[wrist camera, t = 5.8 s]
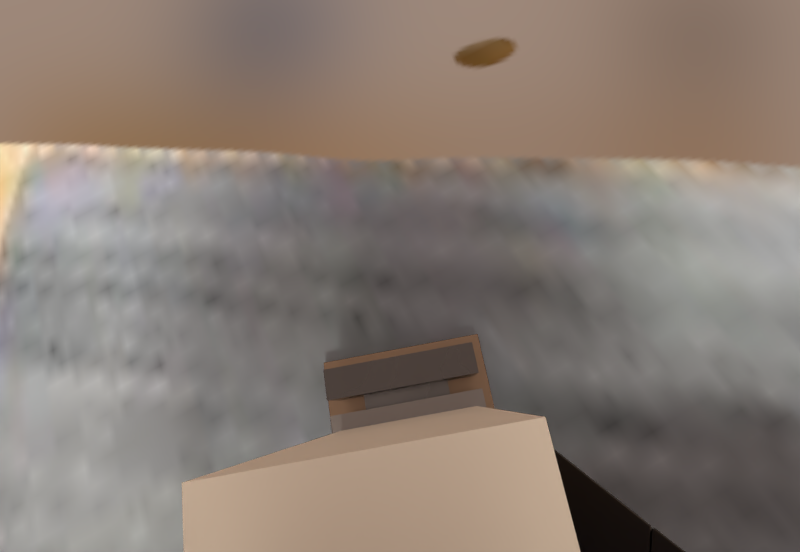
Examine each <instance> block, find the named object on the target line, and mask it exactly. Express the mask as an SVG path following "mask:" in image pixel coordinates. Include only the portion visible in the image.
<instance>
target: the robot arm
mask: <svg viewBox="0 0 800 552" xmlns="http://www.w3.org/2000/svg"><path fill="white" fill-rule="evenodd" d="M554 452H555V456H556V460H557V463H558V467H559V471H560V475H561V479H562V483H563V486H564V490H565V494H566V498H567V502H568V506H569V509H570V513H571V517H572V521H573V525H574V529H575V532H576V536H577V540H578V544H579V548H580V552H685V551H684V550H682V549H681V548H680V547H678V546H677V545H676V544H674V543H673V542H672V541H671V540H669V539H668V538H667V537H666V536H664V535H663V534H662V533H660V532H659V531H658V530H657V529H655V528H653V529H652V527H651V525H649V524H648V523H647V522H646V521H644V520H643V519H642V518H641V517H639V516H638V515H637V514H635V513H634V512H633V511H632V510H630V509H629V508H628V507H627V506H625V505H624V504H623V503H622V502H620V501H619V500H618V499H616V498H615V497H614V496H613V495H611V494H610V493H609V492H608V491H606V490H605V489H604V488H603V487H601V486H600V485H599V484H597V483H596V482H595V481H594V480H592V479H591V478H590V477H589V476H587V475H586V474H585V473H584V472H582V471H581V470H580V469H579V468H577V467H576V466H575V465H573V464H572V463H571V462H570V461H568V460H567V459H566V458H565V457H563V456H562V455H561V454H560V453H558V452H557V451H556V450H554Z"/></svg>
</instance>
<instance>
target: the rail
mask: <svg viewBox="0 0 800 552" xmlns="http://www.w3.org/2000/svg"><path fill="white" fill-rule="evenodd" d="M324 378H325V386H326V394H327V401H328V402H329V411H330V416H334V415H340V414H345V413H350V412H356V411H361V410H367V409H372V408H378V407H383V406H388V405H394V404H399V403H405V402H410V401H416V400H421V399H426V398H432V397H437V396H443V395H448V394H454V393H459V392H464V391H470V390H475V389H481V388H482V390H483V394H484V398H485V403H486V407H487V408H492V409H495V408H494V404H493V400H492V395H491V391H490V387H489V382H488V378H487V373H486V369H485V365H484V360H483V356H482V352H481V347H480V343H479V339H478V334H475V335H469V336H464V337H459V338H453V339H448V340H443V341H437V342H432V343H427V344H422V345H416V346H411V347H406V348H400V349H395V350H390V351H384V352H379V353H374V354H368V355H363V356H358V357H352V358H347V359H342V360H336V361H331V362H326V363H324Z"/></svg>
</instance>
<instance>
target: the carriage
mask: <svg viewBox="0 0 800 552" xmlns="http://www.w3.org/2000/svg"><path fill="white" fill-rule="evenodd" d="M330 419H331V428H332V434H330V435H327V436H324V437H320V438H317V439H314V440H311V441H308V442H305V443H302V444H299V445H296V446H293V447H290V448H287V449H284V450H281V451H278V452H275V453H272V454H269V455H266V456H262V457H259V458H256V459H253V460H250V461H247V462H244V463H241V464H238V465H235V466H232V467H229V468H226V469H223V470H220V471H217V472H214V473H211V474H208V475H204V476H201V477H198V478H195V479H192V480H189V481H186V482H183V483H182V506H183V545H184V552H580V548H579V544H578V540H577V536H576V532H575V529H574V525H573V521H572V517H571V513H570V509H569V506H568V502H567V498H566V494H565V490H564V486H563V483H562V479H561V475H560V471H559V467H558V463H557V460H556V456H555V452H554V448H553V444H552V440H551V437H550V433H549V429H548V425H547V421H546V417H543V416H536V415H530V414H524V413H518V412H511V411H505V410H499V409H492V408H487V407H486V403H485V398H484V394H483V390H482V388H481V389H475V390H470V391H464V392H459V393H454V394H448V395H443V396H437V397H432V398H426V399H421V400H416V401H410V402H405V403H399V404H394V405H388V406H383V407H378V408H372V409H367V410H361V411H356V412H350V413H345V414H340V415H334V416H330Z"/></svg>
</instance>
